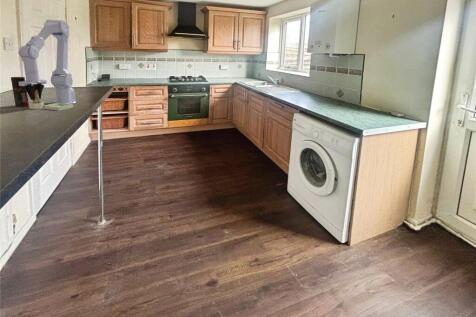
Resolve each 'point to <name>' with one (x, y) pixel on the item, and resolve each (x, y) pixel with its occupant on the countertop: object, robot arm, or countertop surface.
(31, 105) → the white octagonal bowl
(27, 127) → the countertop surface
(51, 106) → the tray
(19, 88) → the deodorant
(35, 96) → the dowel
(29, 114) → the countertop surface
